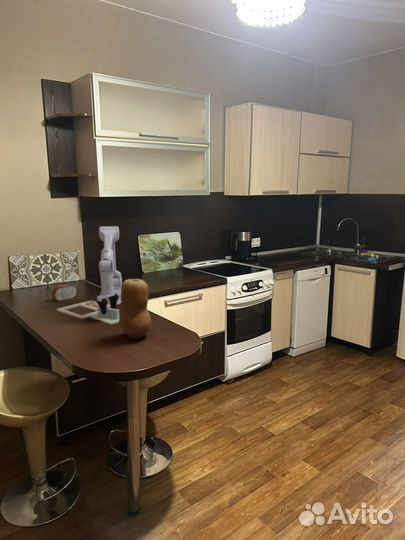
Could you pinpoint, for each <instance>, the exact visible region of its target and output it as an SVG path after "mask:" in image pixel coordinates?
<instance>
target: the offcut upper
mask: <svg viewBox="0 0 405 540" xmlns="http://www.w3.org/2000/svg"><path fill="white" fill-rule="evenodd" d="M88 305H89V306H92V307H95V308H99V305H98V304H97V303H89V304H88Z"/></svg>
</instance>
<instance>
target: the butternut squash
mask: <svg viewBox="0 0 405 540" xmlns="http://www.w3.org/2000/svg"><path fill="white" fill-rule="evenodd" d="M148 303H149V285H148V284H147V282H146V281H144V280H142V279H140V278H132V279H131V278H129V279H125V280H124V281H123V282H122V286H121V303H120V305H121V306H120V307H121V308H120V313H119V316H120V317H119V322H118V323H119V326H120V329H121V330H122V331H123V333H124V334H126V336H127V337H129V338H130V339H132V340H137V339H141V338H142V337H144V336H146V334H147V333H148V332H149V331H150V330H151V328H152V317H151V314H150V313H149V310H148Z"/></svg>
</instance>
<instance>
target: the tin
mask: <svg viewBox="0 0 405 540" xmlns="http://www.w3.org/2000/svg"><path fill="white" fill-rule="evenodd" d="M77 295H78V288H77V286H76V285H74V284H73V283H72V284H71V283H69V284H64V285H59V286H56V287H55V288H53V290H52V292H51V297H52V298H53V300H55V301H58V302H63V301H67V300H72V299H74V298H76V297H77Z"/></svg>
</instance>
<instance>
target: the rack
mask: <svg viewBox="0 0 405 540" xmlns="http://www.w3.org/2000/svg"><path fill="white" fill-rule="evenodd" d="M91 303H97V302H96V301H95V300H92V299H90V300H86V301H82V302H79V303H74V304H71V305H67V306H62V307H59V308H56V311H57V312H59V313H62V314H66V315H69V316H72V317H75V318H77V319H85V318H89V317H91V316H95V315H98V308H95V307H92V306H88V305H89V304H91ZM78 307H82V308H85V309H88V310H92V312H89V313H85V314H82V315H81V314H78V313H75V312H72V311H69V310H70V309H73V308H78ZM107 308H111V307H110V305H108V304H107ZM93 311H94V312H93Z"/></svg>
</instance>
